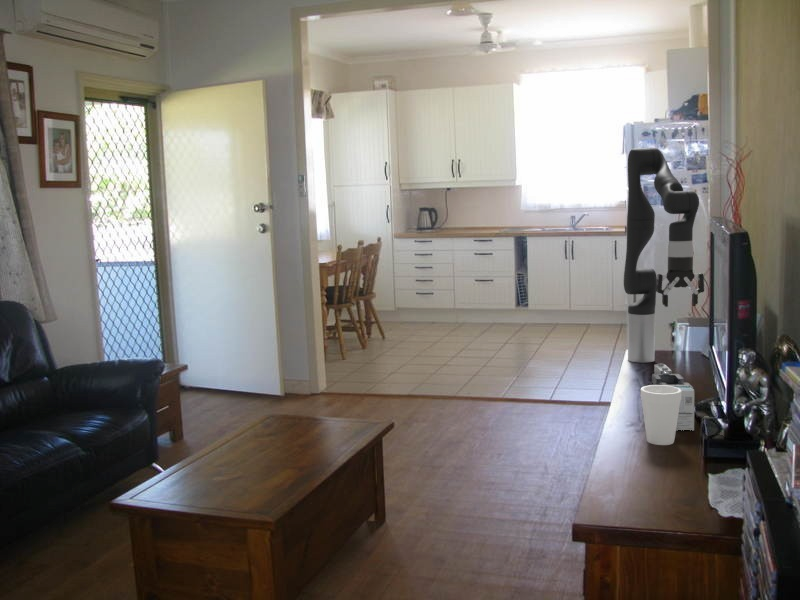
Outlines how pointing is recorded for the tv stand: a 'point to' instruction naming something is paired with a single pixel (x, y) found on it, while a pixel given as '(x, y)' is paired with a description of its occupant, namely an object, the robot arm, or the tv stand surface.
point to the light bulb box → (685, 408)
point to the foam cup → (660, 412)
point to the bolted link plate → (661, 369)
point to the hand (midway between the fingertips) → (679, 306)
